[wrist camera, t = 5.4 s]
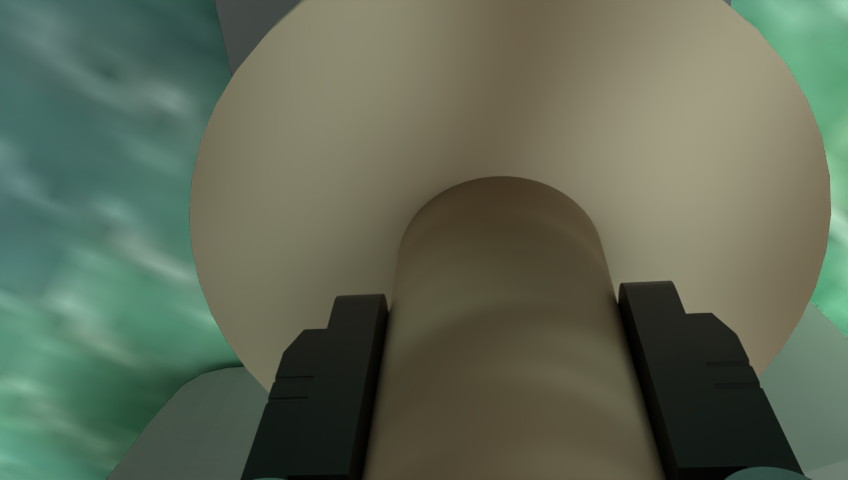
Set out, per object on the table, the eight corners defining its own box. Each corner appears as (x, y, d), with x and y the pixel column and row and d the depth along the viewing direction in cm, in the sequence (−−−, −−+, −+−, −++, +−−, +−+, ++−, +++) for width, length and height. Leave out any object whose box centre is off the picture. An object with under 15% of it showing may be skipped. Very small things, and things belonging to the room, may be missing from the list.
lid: (866, -112, 11) (1573, 70, 4) (762, 439, 16) (970, 912, 9) (130, -41, 12) (-349, 200, 5) (272, 452, 17) (141, 883, 11)
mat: (743, -191, 21) (753, -191, 20) (701, 189, 27) (707, 199, 26) (192, -136, 22) (183, -134, 22) (270, 214, 28) (266, 225, 28)
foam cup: (741, 196, 27) (936, 477, 16) (907, 317, 30) (1177, 635, 18) (571, 358, 31) (630, 669, 20) (728, 452, 34) (860, 778, 23)
